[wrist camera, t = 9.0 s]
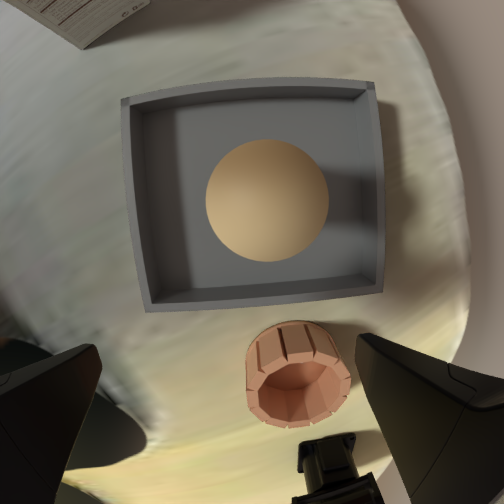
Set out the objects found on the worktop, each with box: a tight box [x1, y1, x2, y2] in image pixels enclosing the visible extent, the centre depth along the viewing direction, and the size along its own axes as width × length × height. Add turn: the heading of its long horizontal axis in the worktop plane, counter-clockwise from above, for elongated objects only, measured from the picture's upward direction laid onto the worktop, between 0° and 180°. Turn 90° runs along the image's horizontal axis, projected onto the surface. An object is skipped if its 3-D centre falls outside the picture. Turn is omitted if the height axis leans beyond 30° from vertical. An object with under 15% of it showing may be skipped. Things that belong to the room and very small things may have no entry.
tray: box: [121, 77, 386, 313], centre depth 18 cm, size 14×16×4 cm
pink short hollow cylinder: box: [245, 321, 351, 428], centre depth 21 cm, size 8×8×4 cm
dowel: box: [206, 139, 329, 262], centre depth 14 cm, size 4×4×10 cm
